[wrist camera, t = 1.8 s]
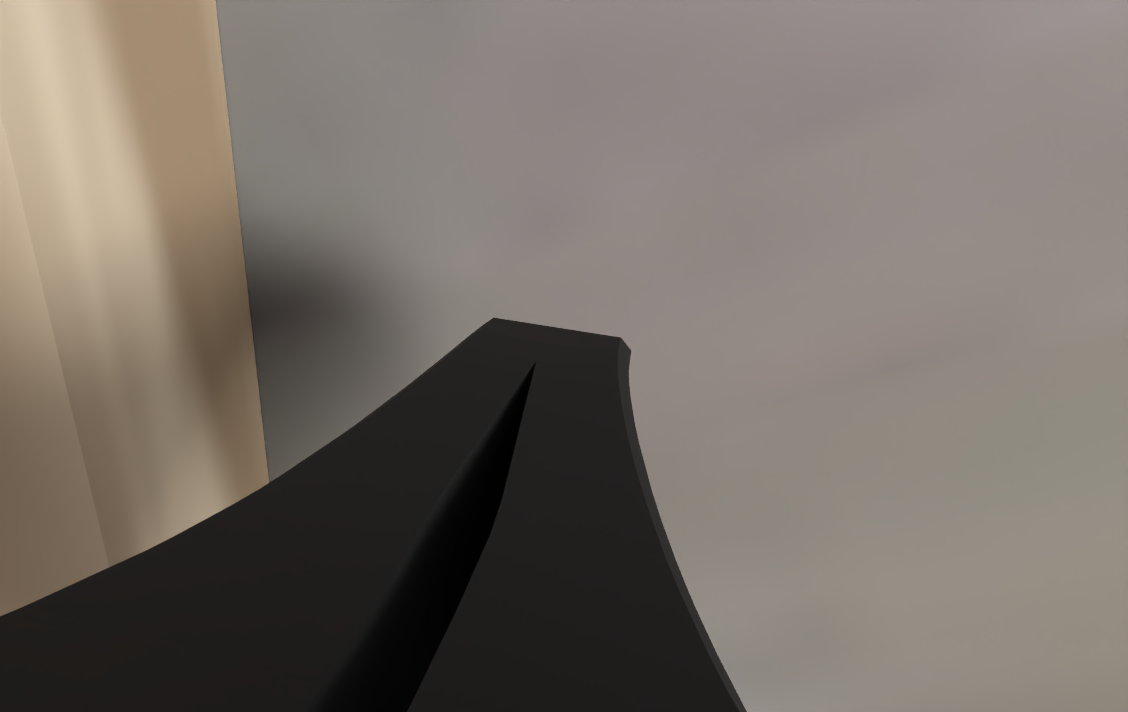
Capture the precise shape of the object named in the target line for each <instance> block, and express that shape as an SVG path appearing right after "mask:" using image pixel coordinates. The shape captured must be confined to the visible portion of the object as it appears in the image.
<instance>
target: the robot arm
mask: <svg viewBox="0 0 1128 712" xmlns="http://www.w3.org/2000/svg"><path fill="white" fill-rule="evenodd" d="M630 356H631V350H630V349H629V347H628V346H627V345H626V343H625V342H624V341H623V340H622V338H619V337H613V336H607V335H600V334H594V333H587V332H581V331H575V330H568V329H562V328H556V327H549V326H543V325H536V324H530V323H524V322H517V321H511V320H505V319H498V318H493V319H491V320H490V321H488V322H487V323H485V324H484V325H483V326H481V327H480V328H479V329H477V330H476V331H475V332H474V333H472V334H471V335H470V336H469V337H467V338H466V339H465V340H464V341H462V342H461V343H460V344H459V345H458V346H456V347H455V348H454V349H453V350H451V351H450V352H449V353H448V354H447V355H445V356H444V357H443V358H442V359H440V360H439V361H438V362H437V363H435V364H434V365H433V366H432V367H430V368H429V369H428V370H427V371H425V372H424V373H423V374H422V375H420V376H419V377H418V378H417V379H415V380H414V381H413V382H412V383H410V384H409V385H408V386H407V387H405V388H404V389H403V390H401V391H400V392H399V393H397V394H396V395H395V396H393V397H392V398H391V399H389V400H388V401H387V402H385V403H384V404H383V405H381V406H380V407H379V408H377V409H376V410H375V411H373V412H372V413H371V414H369V415H368V416H367V417H365V418H364V419H363V420H361V421H360V422H359V423H357V424H356V425H355V426H353V427H352V428H350V429H349V430H348V431H346V432H345V433H343V434H342V435H341V436H339V437H338V438H336V439H335V440H333V441H332V442H330V443H329V444H327V445H326V446H324V447H323V448H321V449H320V450H318V451H317V452H315V453H314V454H312V455H311V456H309V457H308V458H306V459H305V460H303V461H302V462H300V463H299V464H297V465H296V466H294V467H293V468H291V469H290V470H288V471H287V472H285V473H284V474H282V475H281V476H279V477H278V478H276V479H275V480H273V481H271V482H270V483H268V484H267V485H265V486H263V487H262V488H260V489H258V490H257V491H255V492H253V493H251V494H250V495H248V496H246V497H245V498H243V499H241V500H239V501H238V502H236V503H234V504H233V505H231V506H229V507H227V508H225V509H223V510H222V511H220V512H218V513H216V514H214V515H212V516H211V517H209V518H207V519H205V520H203V521H201V522H199V523H198V524H196V525H194V526H192V527H190V528H188V529H187V530H185V531H183V532H181V533H179V534H177V535H175V536H174V537H172V538H170V539H168V540H166V541H164V542H162V543H160V544H158V545H156V546H154V547H152V548H150V549H148V550H146V551H144V552H142V553H139V554H137V555H135V556H133V557H131V558H128V559H126V560H124V561H122V562H120V563H117V564H115V565H113V566H111V567H109V568H107V569H104V570H102V571H100V572H98V573H96V574H93V575H91V576H89V577H87V578H85V579H83V580H80V581H78V582H76V583H74V584H72V585H69V586H67V587H65V588H63V589H61V590H59V591H56V592H54V593H52V594H50V595H48V596H45V597H43V598H41V599H39V600H37V601H35V602H32V603H30V604H28V605H26V606H24V607H21V608H19V609H16V610H14V611H12V612H9V613H7V614H4V615H2V616H0V712H747V711H746V710H745V708H744V706H743V704H742V702H741V700H740V698H739V696H738V694H737V692H736V690H735V688H734V686H733V684H732V682H731V680H730V679H729V677H728V675H727V673H726V671H725V669H724V667H723V665H722V663H721V661H720V659H719V657H718V655H717V653H716V651H715V649H714V647H713V645H712V643H711V640H710V638H709V636H708V634H707V632H706V630H705V627H704V625H703V623H702V621H701V619H700V617H699V615H698V612H697V610H696V608H695V606H694V604H693V601H692V599H691V596H690V594H689V592H688V589H687V587H686V585H685V582H684V580H683V577H682V575H681V572H680V570H679V567H678V565H677V562H676V560H675V557H674V554H673V552H672V549H671V546H670V543H669V540H668V538H667V535H666V532H665V529H664V527H663V524H662V521H661V518H660V515H659V512H658V509H657V506H656V503H655V500H654V496H653V493H652V490H651V486H650V483H649V479H648V475H647V472H646V468H645V464H644V460H643V457H642V453H641V449H640V445H639V441H638V437H637V432H636V427H635V422H634V416H633V410H632V404H631V398H630V388H629V363H630Z"/></svg>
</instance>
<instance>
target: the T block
mask: <svg viewBox="0 0 1128 712" xmlns="http://www.w3.org/2000/svg"><path fill="white" fill-rule="evenodd" d="M268 483H269V477H268V468H267V459H266V450H265V441H264V432H263V423H262V414H261V405H260V396H259V387H258V378H257V369H256V360H255V351H254V342H253V333H252V324H251V315H250V306H249V297H248V288H247V279H246V270H245V261H244V252H243V243H242V234H241V225H240V216H239V208H238V199H237V190H236V181H235V172H234V163H233V154H232V145H231V136H230V127H229V118H228V109H227V100H226V91H225V82H224V73H223V64H222V55H221V46H220V37H219V28H218V19H217V10H216V1H215V0H0V616H2V615H4V614H7V613H9V612H12V611H14V610H16V609H19V608H21V607H24V606H26V605H28V604H30V603H32V602H35V601H37V600H39V599H41V598H43V597H45V596H48V595H50V594H52V593H54V592H56V591H59V590H61V589H63V588H65V587H67V586H69V585H72V584H74V583H76V582H78V581H80V580H83V579H85V578H87V577H89V576H91V575H93V574H96V573H98V572H100V571H102V570H104V569H107V568H109V567H111V566H113V565H115V564H117V563H120V562H122V561H124V560H126V559H128V558H131V557H133V556H135V555H137V554H139V553H142V552H144V551H146V550H148V549H150V548H152V547H154V546H156V545H158V544H160V543H162V542H164V541H166V540H168V539H170V538H172V537H174V536H175V535H177V534H179V533H181V532H183V531H185V530H187V529H188V528H190V527H192V526H194V525H196V524H198V523H199V522H201V521H203V520H205V519H207V518H209V517H211V516H212V515H214V514H216V513H218V512H220V511H222V510H223V509H225V508H227V507H229V506H231V505H233V504H234V503H236V502H238V501H239V500H241V499H243V498H245V497H246V496H248V495H250V494H251V493H253V492H255V491H257V490H258V489H260V488H262V487H263V486H265V485H267V484H268Z"/></svg>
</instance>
